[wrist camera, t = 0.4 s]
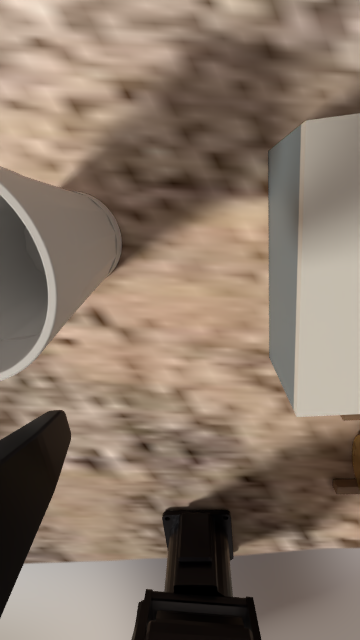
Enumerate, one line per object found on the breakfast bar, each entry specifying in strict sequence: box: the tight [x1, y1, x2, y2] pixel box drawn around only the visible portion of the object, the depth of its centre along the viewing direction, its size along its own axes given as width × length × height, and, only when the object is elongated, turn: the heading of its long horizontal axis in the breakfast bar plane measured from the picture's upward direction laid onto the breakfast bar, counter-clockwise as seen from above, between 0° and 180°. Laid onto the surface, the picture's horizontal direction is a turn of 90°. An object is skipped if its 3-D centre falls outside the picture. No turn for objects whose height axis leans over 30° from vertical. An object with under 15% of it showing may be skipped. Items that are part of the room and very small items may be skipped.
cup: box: [0, 167, 122, 381], centre depth 15 cm, size 8×8×12 cm
